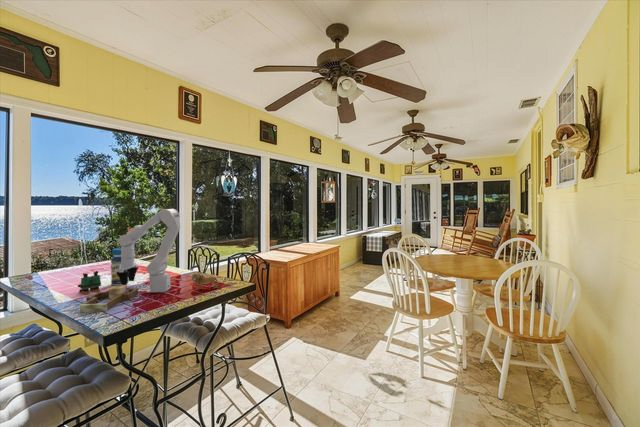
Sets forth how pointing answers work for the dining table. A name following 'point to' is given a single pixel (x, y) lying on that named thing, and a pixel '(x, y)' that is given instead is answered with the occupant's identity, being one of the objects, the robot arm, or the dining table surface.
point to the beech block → (116, 291)
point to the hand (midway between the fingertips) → (127, 282)
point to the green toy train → (90, 283)
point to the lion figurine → (204, 280)
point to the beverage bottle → (116, 266)
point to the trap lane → (94, 299)
